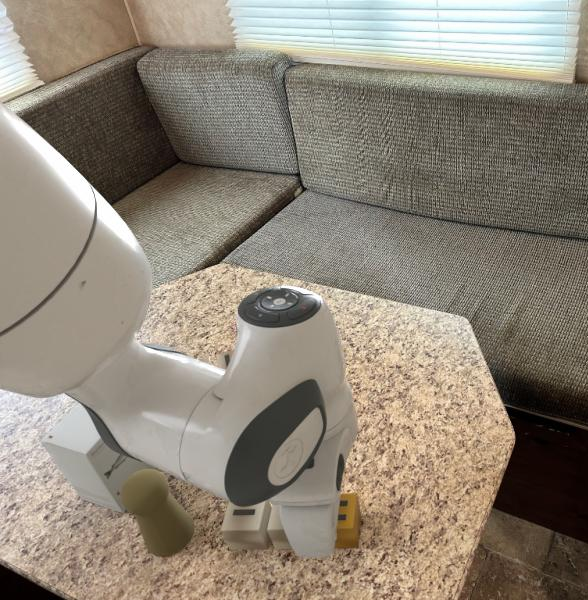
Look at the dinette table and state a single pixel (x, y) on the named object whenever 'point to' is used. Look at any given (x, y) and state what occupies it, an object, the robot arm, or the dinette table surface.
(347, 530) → the yellow striped cube
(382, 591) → the dinette table surface
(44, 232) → the robot arm
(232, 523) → the off-white cube
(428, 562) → the dinette table surface
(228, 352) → the tile
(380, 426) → the dinette table surface
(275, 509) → the white block
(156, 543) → the olive game pawn
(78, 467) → the white packaging box
